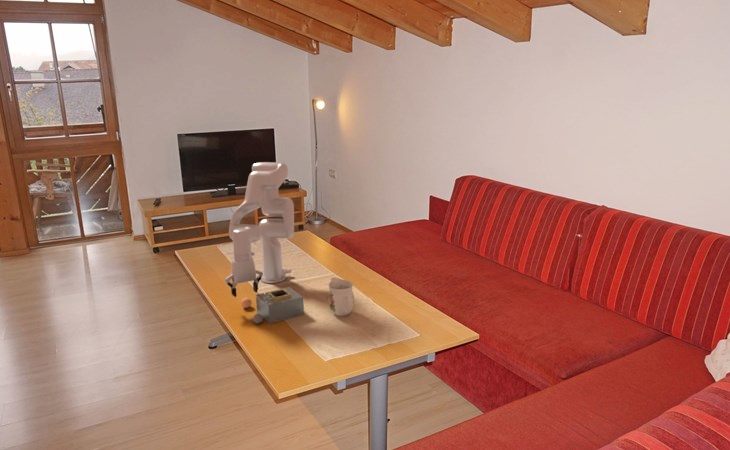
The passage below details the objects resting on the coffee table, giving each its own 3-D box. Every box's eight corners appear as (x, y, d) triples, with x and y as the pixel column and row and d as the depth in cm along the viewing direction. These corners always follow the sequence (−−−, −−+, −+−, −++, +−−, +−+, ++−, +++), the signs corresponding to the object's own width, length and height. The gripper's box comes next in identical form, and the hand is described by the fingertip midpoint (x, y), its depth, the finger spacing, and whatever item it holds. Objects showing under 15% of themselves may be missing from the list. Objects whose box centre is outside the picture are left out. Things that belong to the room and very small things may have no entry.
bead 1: (249, 304, 246) (249, 295, 244) (253, 307, 242) (252, 298, 241) (240, 306, 243) (239, 297, 242) (243, 310, 240) (243, 300, 238)
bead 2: (262, 314, 229) (254, 311, 227) (265, 317, 226) (258, 314, 224) (257, 322, 229) (249, 319, 227) (261, 326, 226) (253, 323, 224)
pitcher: (339, 324, 225) (338, 293, 221) (322, 308, 240) (321, 279, 236) (363, 319, 229) (362, 288, 226) (345, 303, 245) (344, 275, 241)
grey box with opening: (290, 303, 246) (289, 284, 244) (304, 314, 235) (303, 294, 232) (257, 311, 238) (255, 292, 235) (269, 323, 227) (268, 303, 224)
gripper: (258, 251, 244) (260, 287, 248) (220, 257, 235) (223, 295, 239) (264, 255, 237) (266, 292, 241) (226, 262, 228) (229, 300, 232)
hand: (245, 293), depth 240 cm, fingers open, 9 cm apart
